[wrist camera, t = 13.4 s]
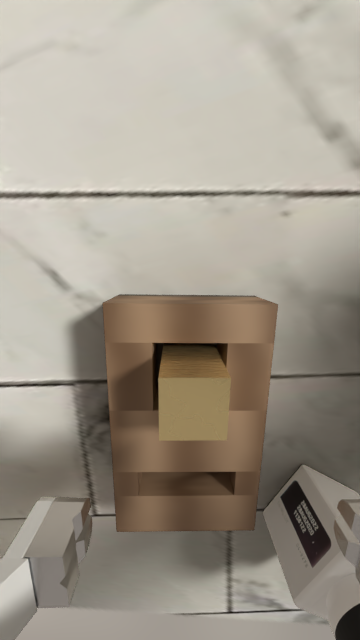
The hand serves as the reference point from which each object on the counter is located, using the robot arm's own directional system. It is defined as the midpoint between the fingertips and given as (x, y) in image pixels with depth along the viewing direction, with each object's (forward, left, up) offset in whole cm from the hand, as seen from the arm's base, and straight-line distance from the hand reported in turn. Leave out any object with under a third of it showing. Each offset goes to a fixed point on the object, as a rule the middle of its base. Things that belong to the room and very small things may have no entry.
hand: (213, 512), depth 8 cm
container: (-14, +18, -15) cm, 27 cm away
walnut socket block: (0, +5, -15) cm, 16 cm away
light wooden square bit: (0, 0, -14) cm, 14 cm away
